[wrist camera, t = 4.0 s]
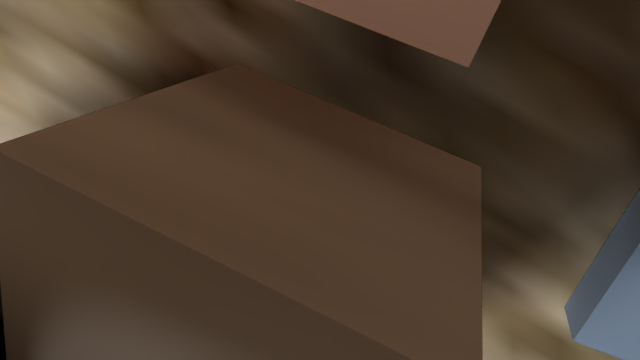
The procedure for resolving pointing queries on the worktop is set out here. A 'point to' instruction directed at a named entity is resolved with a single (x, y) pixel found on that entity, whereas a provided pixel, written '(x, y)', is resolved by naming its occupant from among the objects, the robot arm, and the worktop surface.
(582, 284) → the base plate
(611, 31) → the worktop surface
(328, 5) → the terracotta block
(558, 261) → the worktop surface
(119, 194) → the walnut block
